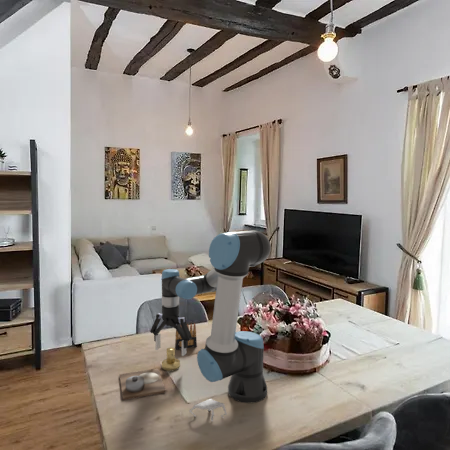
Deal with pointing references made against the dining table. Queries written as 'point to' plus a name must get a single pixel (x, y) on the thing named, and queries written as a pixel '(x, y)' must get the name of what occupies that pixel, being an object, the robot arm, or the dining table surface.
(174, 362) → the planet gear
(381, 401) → the dining table surface
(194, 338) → the ammunition clip
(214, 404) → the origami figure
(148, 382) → the carrier plate
